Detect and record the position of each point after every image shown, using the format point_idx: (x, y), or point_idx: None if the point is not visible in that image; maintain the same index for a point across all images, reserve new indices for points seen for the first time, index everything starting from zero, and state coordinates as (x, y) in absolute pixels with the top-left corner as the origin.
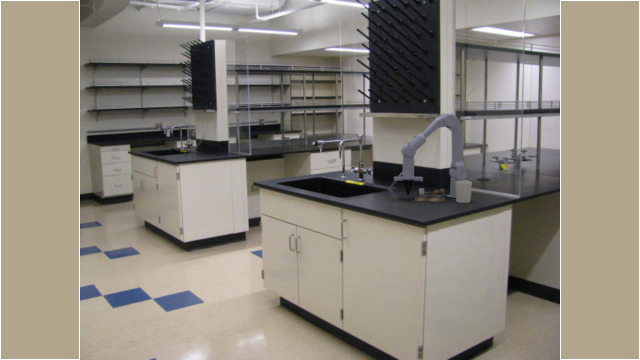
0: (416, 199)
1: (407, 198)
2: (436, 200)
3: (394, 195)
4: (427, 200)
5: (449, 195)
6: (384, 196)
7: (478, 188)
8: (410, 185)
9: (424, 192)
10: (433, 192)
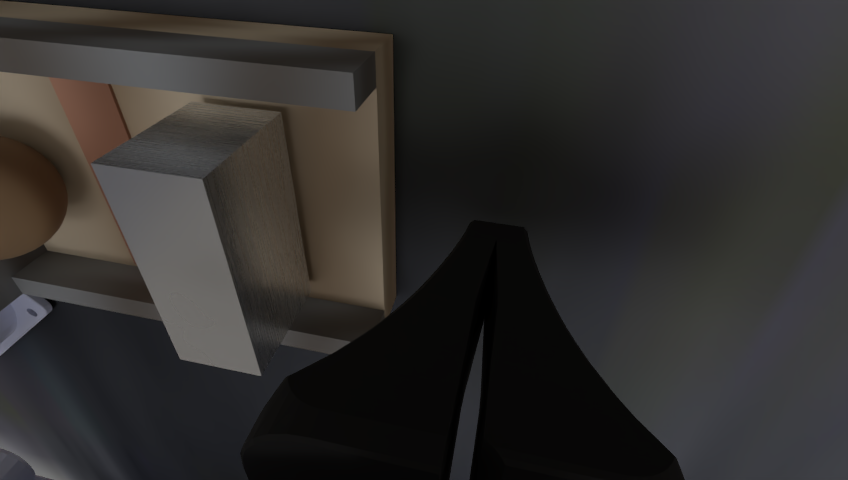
0: (344, 39)
1: None
2: (6, 6)
3: None
4: (151, 17)
5: (18, 304)
6: (840, 421)
7: None
8: (398, 352)
9: None
10: (12, 196)
